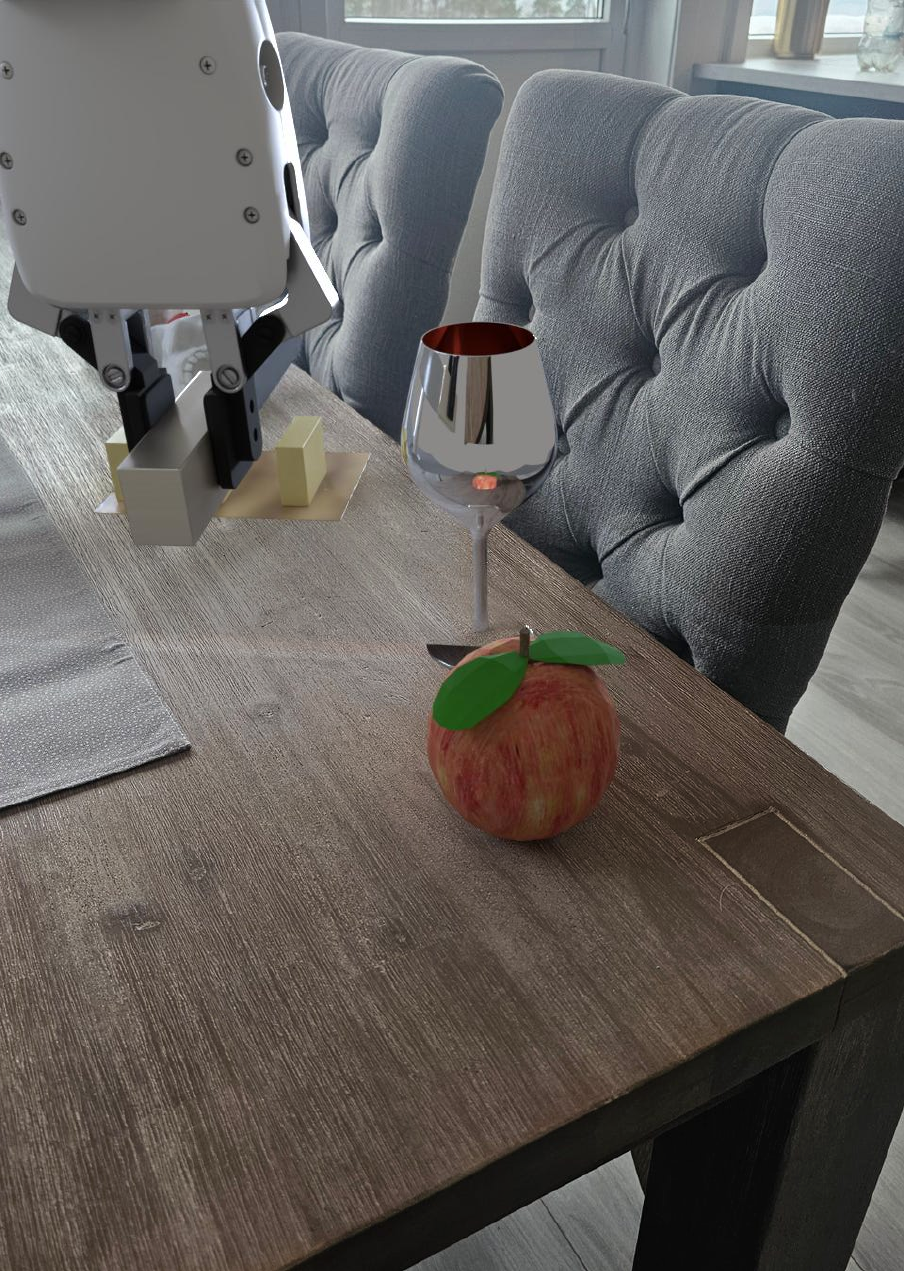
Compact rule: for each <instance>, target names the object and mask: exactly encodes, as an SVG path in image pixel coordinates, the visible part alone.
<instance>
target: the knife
mask: <svg viewBox="0 0 904 1271" xmlns="http://www.w3.org/2000/svg"><path fill="white" fill-rule="evenodd" d="M286 299H288V294H287V295H286V296H285V297H284V298H283V300H282V301H281V302H283V301H284V300H286ZM300 337H301V336H300V335H299V336H297V337H295V338H291V339H289V340H287V341H285V342H283V343H281V344H279V346H278V347H277V348H276V349H275V350H274V351H273V353H272V354H271V355H270V356H269V357H268V358H267V359H266V361H265V362H264V363H263V364H262V365H261V366H260V368H259V369H258V370H257V371H256V372H255V373H254V380H255V388H256V395H257V403H258V410H259V412H260V411H261V410H262V408H264V405H265V404H266V402H267V400H268V399H269V397H270V396H271V394H272V393H273V392H274V391H275V389H276V387H277V386H278V384H279V383H280V381H281V380H282V378H283V377H284V375H285V374H286V372H287V371H288V370H289V368H290V367H291V365H292V363H293V361H295V359H296V357H297V356H298V354H299V353H300V351H301V350H302V347H301V338H300ZM211 373H212V371H200V372H199V373H198V374H197V376H196V377H195V378H194V379H193V380H192V381H191V383H190V384H189V385H188V386H187V387H186V388H185V390H184V391H183V392H182V393H181V394H180V395H179V397H178V398H177V399H176V400H175V402H174V403H173V404H172V405H171V406H170V408H169V409H168V410H167V411H166V412H165V413H164V415H163V416H162V417H161V418H160V419H159V420H158V422H157V423H156V424H155V425H154V426H153V427H152V429H151V430H149V431H148V433H147V434H146V435H145V436H144V437H143V438H142V440H141V441H140V442H139V443H138V444H137V445H136V447H135V448H134V449H133V450H132V451H131V452H130V454H129V455H128V456H127V457H126V458H125V459H124V461H123V462H122V463H121V464H120V465H119V466H118V468H117V473H118V478H119V482H120V486H121V491H122V495H123V500H124V504H125V508H126V513H127V514H126V517H127V520H128V525H129V529H130V534H131V539H132V542H133V545H134V546H146V547H147V546H151V547H153V546H154V547H188V548H192V547H195V546H196V545H197V543H198V542H199V540H200V538H201V537H202V536H203V534H204V531H206V529H207V527H208V525H209V524H210V522H212V519H213V518H214V517H213V516H214V514H215V513H216V511H217V510H218V508H219V507H220V505H221V503H222V502H223V500H224V499H225V497H226V495H227V494H228V492H229V491H230V489H222V488H221V486H219V485H218V482H217V477H216V470H215V464H214V458H213V452H212V445H211V439H210V433H209V431H208V430H207V424H206V417H205V411H204V405H203V398H204V395H205V394H206V393H207V392H208V390H209V389H210V388H211V387H212V384H211V377H210V374H211Z"/></svg>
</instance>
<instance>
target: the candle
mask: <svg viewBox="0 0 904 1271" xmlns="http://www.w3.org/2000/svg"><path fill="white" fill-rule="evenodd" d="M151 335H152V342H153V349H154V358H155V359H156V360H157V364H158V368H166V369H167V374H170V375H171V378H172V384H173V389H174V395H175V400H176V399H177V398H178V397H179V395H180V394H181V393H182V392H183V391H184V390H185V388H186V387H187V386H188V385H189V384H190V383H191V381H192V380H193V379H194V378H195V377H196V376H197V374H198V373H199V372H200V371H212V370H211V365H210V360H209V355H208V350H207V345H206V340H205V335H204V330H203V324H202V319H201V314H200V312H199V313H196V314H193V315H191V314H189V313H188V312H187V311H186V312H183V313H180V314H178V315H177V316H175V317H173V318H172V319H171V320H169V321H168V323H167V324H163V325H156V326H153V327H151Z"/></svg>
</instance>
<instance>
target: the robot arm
mask: <svg viewBox="0 0 904 1271" xmlns="http://www.w3.org/2000/svg"><path fill="white" fill-rule="evenodd" d="M283 70H284V69H283V66H282V61H281V56H280V52H279V49H278V45H277V40H276V36H275V32H274V28H273V24H272V21H271V17H270V13H269V9H268V6H267V3H266V0H0V202H1V203H0V204H1V207H2V208H1V209H2V212H3V217H4V222H5V228H6V231H7V235H8V239H9V244H10V247H11V251H12V254H13V259H14V264H13V270H12V276H11V280H10V281H11V282H10V287H9V291H8V297H7V303H6V305H7V306H6V307H7V308H6V309H7V311H8V314H9V315H10V317H12V319H13V320H15V321H16V322H18V323H21V324H23V325H25V326H28V327H30V328H31V329H35V330H37V331H39V332H41V333H44V334H46V335H47V336H50V337H53V338H59V339H61V341H62V342H63V343H64V344H65V345H66V346H67V347H69V348H70V349H71V350H72V351H73V352H74V353H76V354H77V355H78V356H79V357H80V358H82V359H83V361H85V362H86V363H87V364H88V365H90V366H91V367H92V368H93V369H94V370H95V371H97V372H98V377H99V380H100V382H101V384H102V385H103V386H104V387H105V388H106V389H108V390H109V391H110V392H114V393H116V396H117V402H118V406H119V411H120V417H121V422H122V425H123V426H124V431H125V436H126V441H127V446H128V451H129V454H130V452H131V451H132V450H133V449H134V448H135V447H136V445H137V444H138V443H139V442H140V441H141V440H142V438H143V437H144V436H145V435H146V434H147V433H148V431H149V430H151V429H152V427H153V426H154V425H155V424H156V423H157V422H158V420H159V419H160V418H161V417H162V416H163V415H164V413H165V412H166V411H167V410H168V409H169V408H170V406H171V405H172V404H173V403H174V402H175V395H174V389H173V384H172V378H171V375H170V374H167V369H166V368H158V364H157V360H156V359H155V358H154V349H153V342H152V335H151V328H150V321H149V314H148V310H183V311H184V310H186V311H187V310H193V311H194V310H198V311H199V313H200V314H201V319H202V324H203V330H204V335H205V340H206V345H207V350H208V355H209V360H210V365H211V370H212V373H211V374H210V377H211V384H212V387H211V388H210V389H209V390H208V392H207V393H206V394H205V395H204V398H203V405H204V411H205V417H206V424H207V430H208V431H209V433H210V439H211V445H212V452H213V458H214V464H215V470H216V477H217V482H218V485H219V486H221V488H222V489H236V488H237V487H238V485H239V484H240V482H241V481H242V479H243V478H244V477H245V475H246V474H247V472H248V471H249V469H250V468H251V466H252V465H253V462H254V461H257V460H258V459H259V457H260V455H261V453H262V450H263V433H262V426H261V418H260V411H259V410H258V403H257V395H256V388H255V380H254V373H255V372H256V371H257V370H258V369H259V368H260V366H261V365H262V364H263V363H264V362H265V361H266V359H267V358H268V357H269V356H270V355H271V354H272V353H273V351H274V350H275V349H276V348H277V347H278V346H279V344H281V343H283V342H285V341H287V340H289V339H291V338H295V337H297V336H299V337H300V336H301V335H303V334H305V333H307V332H309V331H311V330H313V329H315V328H317V327H319V326H321V325H323V324H325V323H327V322H328V321H329V320H330V319H331V318H332V317H333V316H334V315H335V313H336V312H337V309H338V308H339V305H340V300H339V296H338V293H337V291H336V289H335V288H334V286H333V285H332V283H331V281H330V278H329V277H328V275H327V273H326V272H325V270H324V267H323V266H322V264H321V262H320V260H319V258H318V257H317V254H316V253H315V250H314V249H313V247H312V245H311V232H310V231H311V230H310V220H309V212H308V205H307V198H306V191H305V185H304V179H303V173H302V167H301V161H300V155H299V149H298V142H297V136H296V130H295V127H294V121H293V120H294V119H293V115H292V108H291V104H290V98H289V94H288V90H287V86H286V80H285V75H284V71H283ZM285 290H286V291H287V295H288V299H286V300H284V299H283V300H284V301H283V300H282V301H283V302H282V301H281V302H279V303H276V304H275V305H272V306H269V307H267V308H266V309H265V310H264V311H263V312H262V313H261V314H260V315H259V316H258V317H257V313H256V308H258V307H262V306H265V305H267V304H269V303H271V302H273V301H275V300H277V299H278V298H280V297H281V296H282V294H283V293H284V292H285Z"/></svg>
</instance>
